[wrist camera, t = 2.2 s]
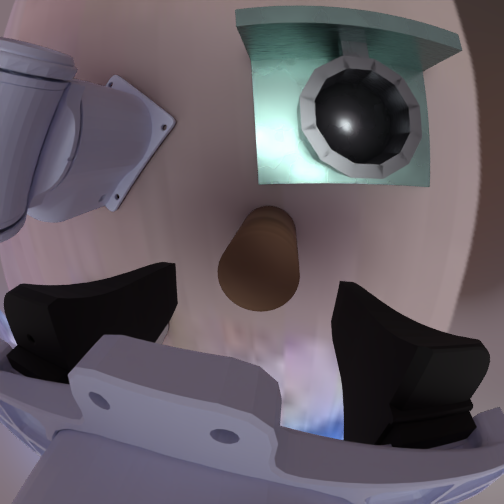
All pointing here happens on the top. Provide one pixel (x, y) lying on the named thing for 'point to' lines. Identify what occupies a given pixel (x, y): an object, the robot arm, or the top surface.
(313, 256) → the top surface
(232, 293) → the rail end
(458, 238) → the top surface
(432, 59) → the cup bracket
